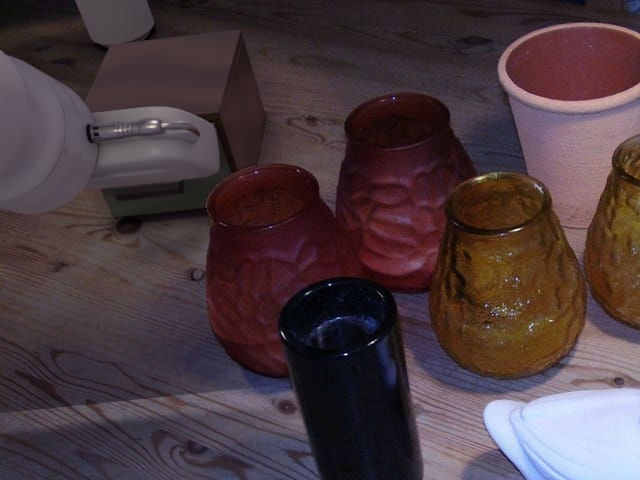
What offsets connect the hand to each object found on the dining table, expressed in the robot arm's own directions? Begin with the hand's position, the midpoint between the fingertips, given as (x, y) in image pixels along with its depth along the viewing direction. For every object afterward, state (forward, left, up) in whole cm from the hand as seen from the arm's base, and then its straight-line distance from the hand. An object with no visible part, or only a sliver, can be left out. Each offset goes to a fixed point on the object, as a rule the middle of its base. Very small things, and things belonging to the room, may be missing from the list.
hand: (110, 178), depth 76 cm
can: (-13, +47, -11) cm, 50 cm away
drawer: (0, +14, -10) cm, 17 cm away
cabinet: (0, +18, -11) cm, 21 cm away
